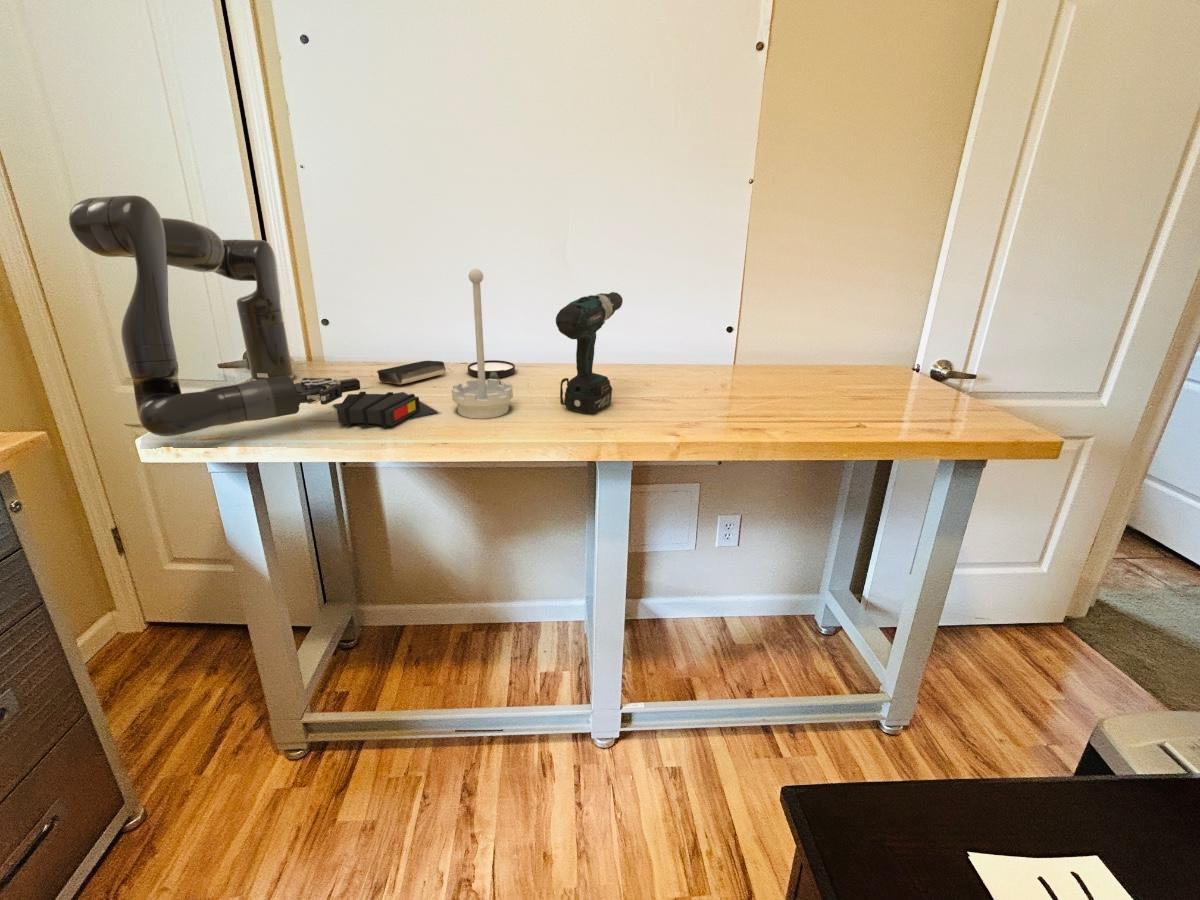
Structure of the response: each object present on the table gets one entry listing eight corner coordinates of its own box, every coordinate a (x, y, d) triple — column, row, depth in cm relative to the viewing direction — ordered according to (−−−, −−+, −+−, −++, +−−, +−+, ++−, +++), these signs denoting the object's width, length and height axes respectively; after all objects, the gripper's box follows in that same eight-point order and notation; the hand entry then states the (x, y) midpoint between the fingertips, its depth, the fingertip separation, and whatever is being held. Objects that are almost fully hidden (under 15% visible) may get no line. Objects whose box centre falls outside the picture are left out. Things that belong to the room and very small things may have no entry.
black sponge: (396, 389, 146) (395, 374, 145) (375, 382, 151) (374, 368, 149) (449, 376, 158) (448, 362, 157) (428, 370, 163) (427, 357, 162)
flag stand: (514, 418, 128) (508, 272, 117) (451, 420, 126) (439, 272, 115) (512, 400, 140) (508, 265, 129) (455, 401, 138) (445, 265, 127)
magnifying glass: (471, 392, 145) (470, 384, 144) (466, 367, 166) (466, 360, 165) (523, 390, 148) (523, 381, 147) (512, 365, 169) (512, 358, 168)
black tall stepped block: (361, 404, 134) (421, 411, 130) (320, 423, 122) (385, 431, 119) (358, 387, 133) (419, 394, 129) (317, 405, 121) (382, 413, 117)
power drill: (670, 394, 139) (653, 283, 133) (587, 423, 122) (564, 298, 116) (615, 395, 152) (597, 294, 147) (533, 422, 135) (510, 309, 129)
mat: (333, 406, 134) (333, 404, 133) (403, 393, 143) (402, 391, 143) (363, 428, 121) (363, 426, 121) (437, 413, 131) (437, 411, 130)
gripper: (272, 387, 109) (368, 372, 119) (255, 371, 118) (345, 359, 129) (280, 426, 112) (372, 408, 122) (262, 408, 121) (350, 393, 132)
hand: (358, 383), depth 126 cm, fingers closed
